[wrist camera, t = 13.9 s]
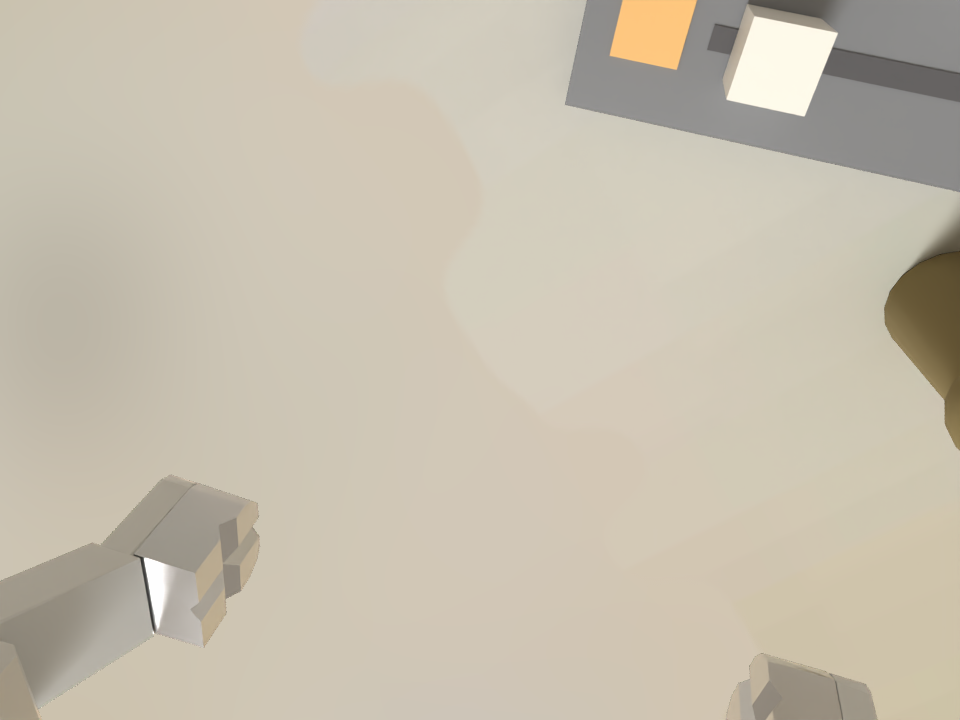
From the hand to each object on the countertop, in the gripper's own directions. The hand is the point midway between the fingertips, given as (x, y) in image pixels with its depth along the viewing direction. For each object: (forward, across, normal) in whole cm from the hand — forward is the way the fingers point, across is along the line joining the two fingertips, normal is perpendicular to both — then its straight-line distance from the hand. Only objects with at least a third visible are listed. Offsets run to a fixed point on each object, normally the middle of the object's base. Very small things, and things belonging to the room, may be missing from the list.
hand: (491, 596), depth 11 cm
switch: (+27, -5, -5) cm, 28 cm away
